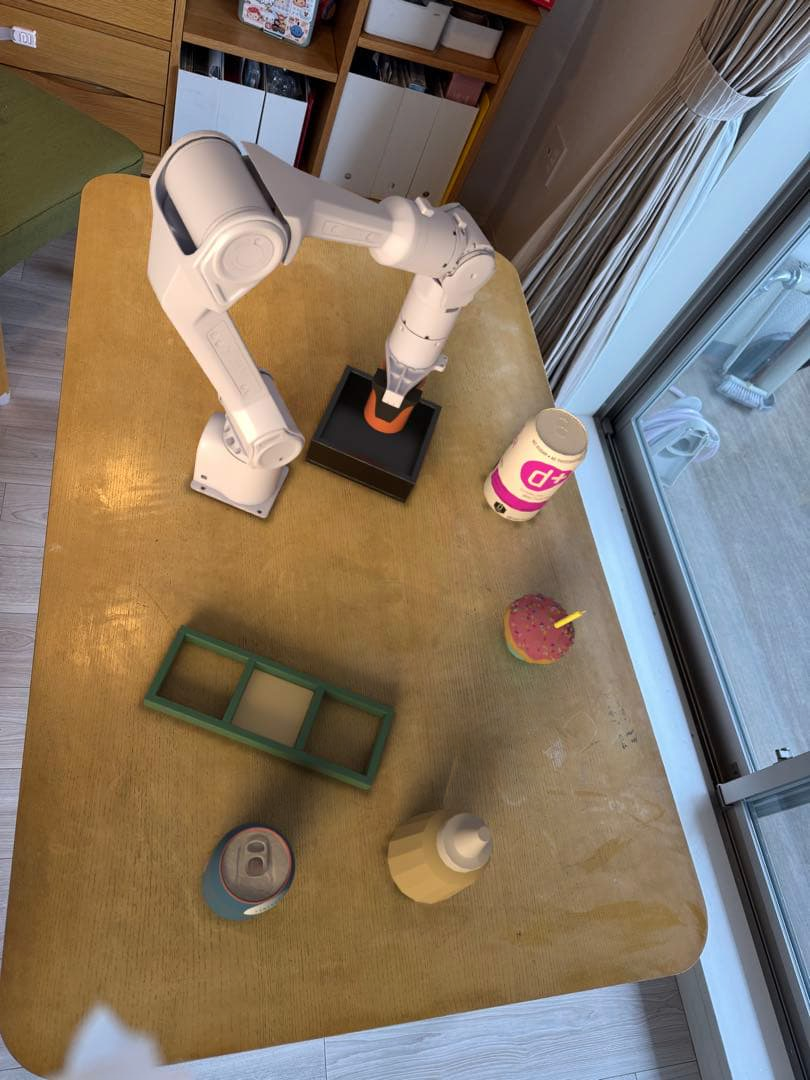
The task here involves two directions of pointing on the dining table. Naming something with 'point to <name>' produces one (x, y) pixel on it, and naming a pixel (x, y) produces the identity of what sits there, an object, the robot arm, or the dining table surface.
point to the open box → (371, 440)
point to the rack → (272, 707)
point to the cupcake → (539, 629)
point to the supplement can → (536, 464)
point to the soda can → (248, 872)
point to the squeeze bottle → (439, 853)
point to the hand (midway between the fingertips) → (390, 400)
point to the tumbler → (395, 424)
